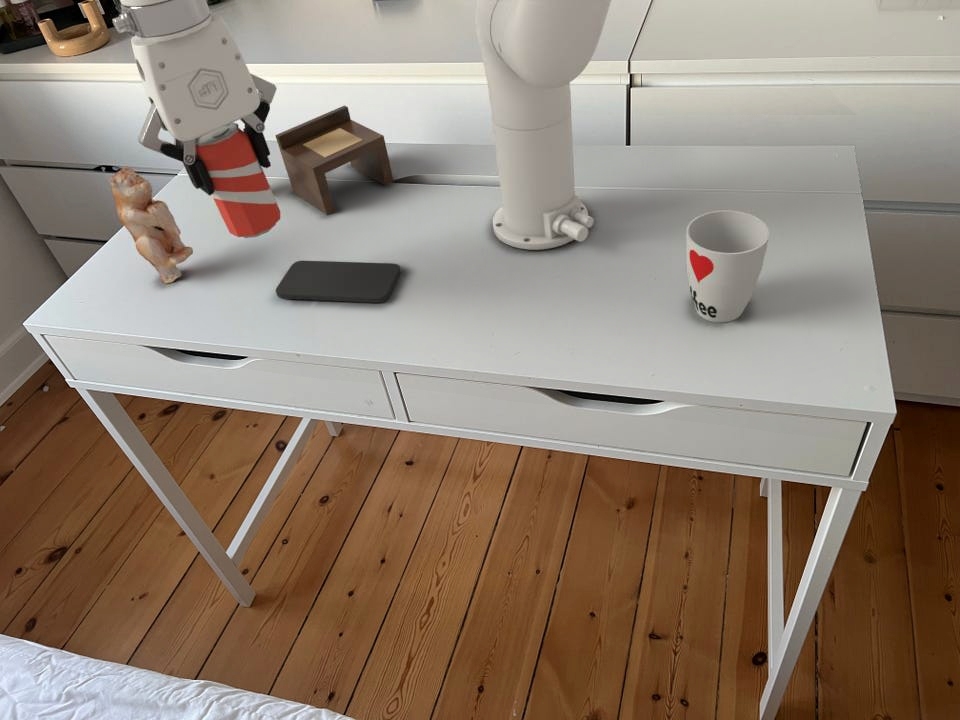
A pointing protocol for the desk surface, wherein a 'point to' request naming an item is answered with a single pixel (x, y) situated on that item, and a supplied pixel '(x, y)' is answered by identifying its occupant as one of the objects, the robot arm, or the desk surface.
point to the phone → (339, 281)
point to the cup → (724, 262)
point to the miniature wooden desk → (331, 154)
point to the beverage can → (238, 181)
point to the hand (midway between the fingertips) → (234, 175)
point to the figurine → (149, 223)
